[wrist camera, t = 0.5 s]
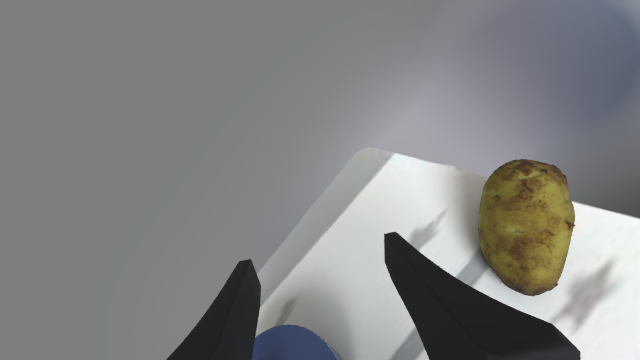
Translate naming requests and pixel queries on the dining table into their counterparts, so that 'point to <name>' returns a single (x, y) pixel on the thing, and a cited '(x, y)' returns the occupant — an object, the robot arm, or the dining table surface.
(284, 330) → the lid
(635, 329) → the dining table surface
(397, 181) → the dining table surface
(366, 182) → the dining table surface
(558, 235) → the potato
